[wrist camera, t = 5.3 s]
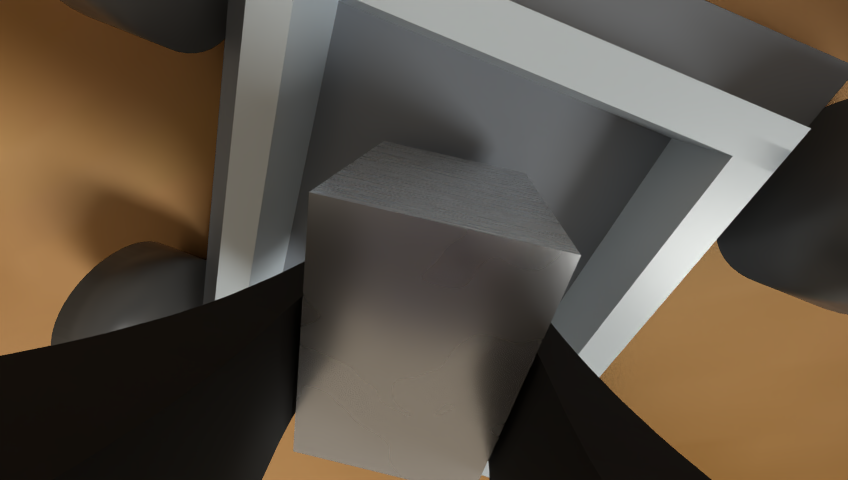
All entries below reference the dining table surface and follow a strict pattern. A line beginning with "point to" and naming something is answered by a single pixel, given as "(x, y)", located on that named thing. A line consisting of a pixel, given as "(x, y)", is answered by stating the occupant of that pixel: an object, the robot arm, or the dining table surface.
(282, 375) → the robot arm
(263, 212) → the chassis
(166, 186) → the dining table surface
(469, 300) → the brushed metal block
